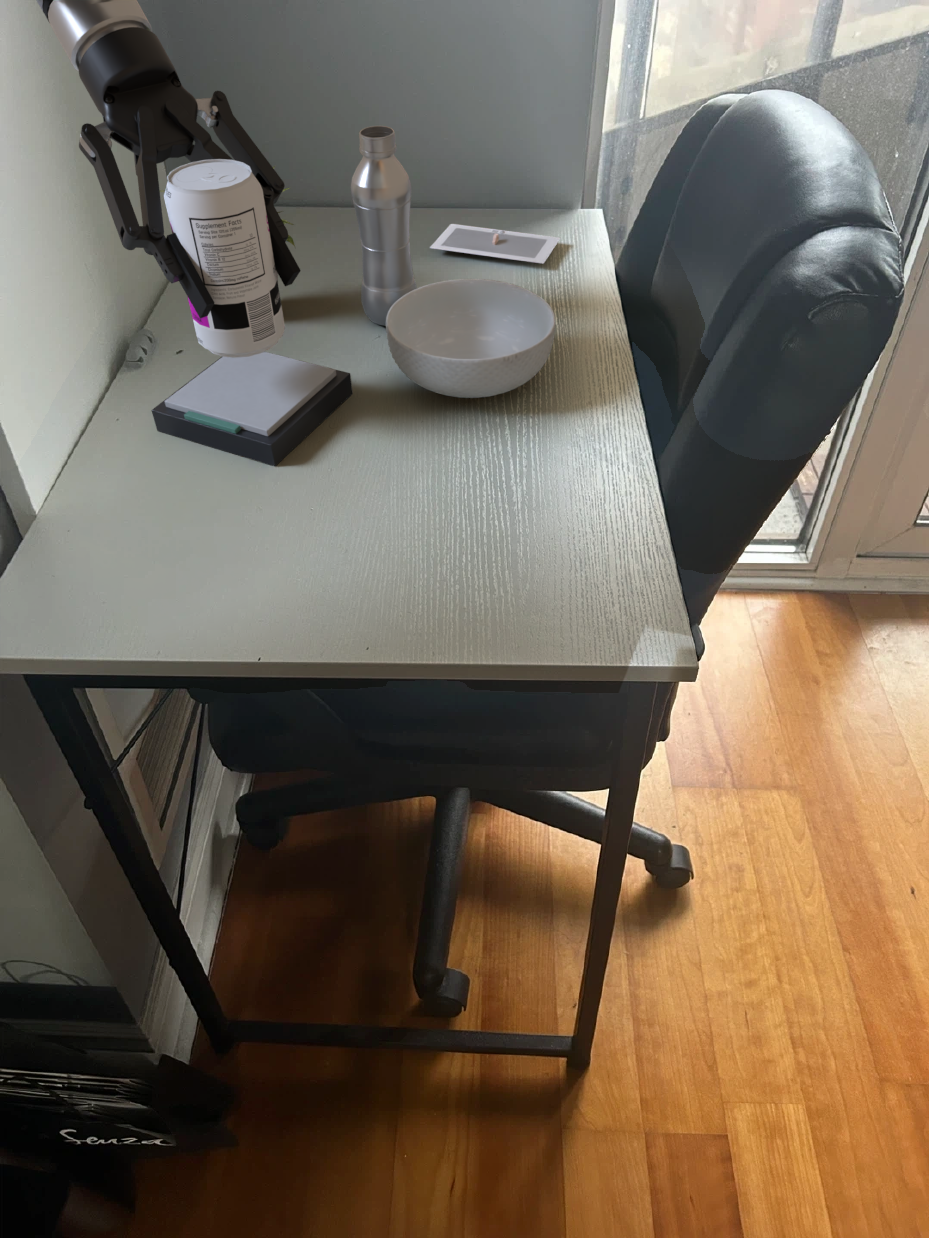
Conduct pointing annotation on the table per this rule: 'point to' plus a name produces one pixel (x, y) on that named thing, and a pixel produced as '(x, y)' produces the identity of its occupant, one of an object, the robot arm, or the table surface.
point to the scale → (254, 405)
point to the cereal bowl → (470, 336)
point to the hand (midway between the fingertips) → (250, 294)
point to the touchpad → (496, 243)
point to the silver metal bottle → (382, 222)
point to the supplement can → (228, 254)
